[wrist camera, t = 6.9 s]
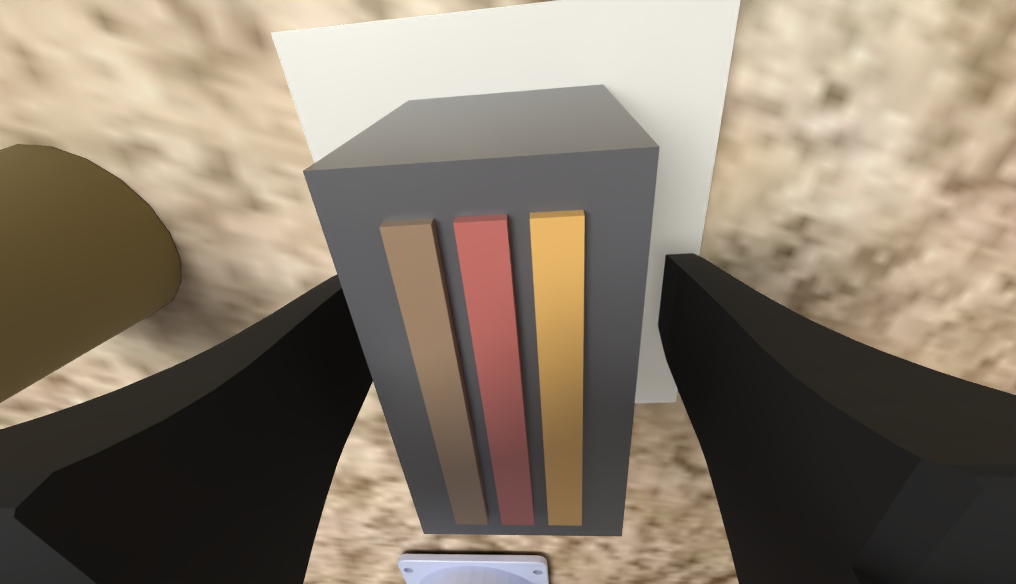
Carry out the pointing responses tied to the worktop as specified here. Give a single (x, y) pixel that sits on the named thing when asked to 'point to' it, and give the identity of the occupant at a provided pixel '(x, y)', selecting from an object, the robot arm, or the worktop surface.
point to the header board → (544, 65)
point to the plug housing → (500, 299)
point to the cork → (72, 261)
